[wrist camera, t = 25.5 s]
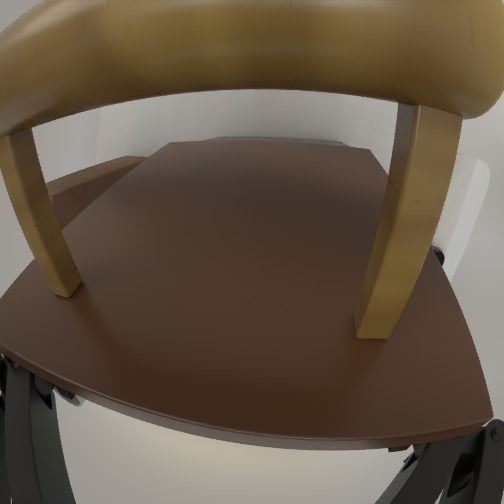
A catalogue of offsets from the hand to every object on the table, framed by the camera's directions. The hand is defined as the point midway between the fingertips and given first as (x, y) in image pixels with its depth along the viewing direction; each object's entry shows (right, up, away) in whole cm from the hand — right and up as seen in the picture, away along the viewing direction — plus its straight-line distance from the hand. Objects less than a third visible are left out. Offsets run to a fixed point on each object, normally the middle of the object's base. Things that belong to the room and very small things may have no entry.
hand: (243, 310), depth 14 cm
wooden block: (-13, +11, +17) cm, 24 cm away
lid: (0, +4, -3) cm, 5 cm away
